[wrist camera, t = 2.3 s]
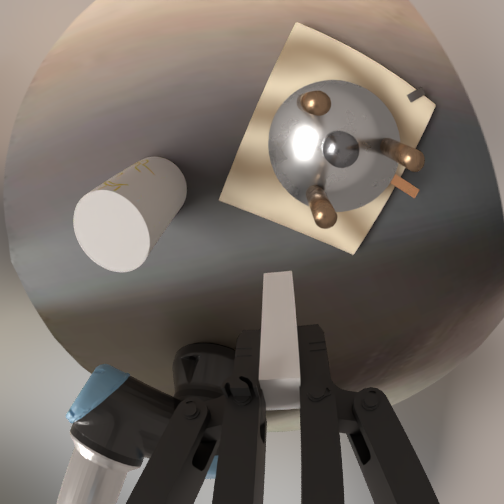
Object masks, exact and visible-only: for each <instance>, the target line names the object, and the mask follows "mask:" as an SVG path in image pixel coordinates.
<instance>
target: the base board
mask: <svg viewBox="0 0 504 504" xmlns="http://www.w3.org/2000/svg"><path fill="white" fill-rule="evenodd" d="M324 80H342V81H347V82H351V83H354V84H357V85H360V86H362V87H364V88H366V89H367V90H369V91H370V92H372V93H373V94H375V95H376V96H377V97H378V98H379V99H380V100H381V101H382V102H383V103H384V104H385V105H386V106H387V108H388V109H389V111H390V112H391V114H392V116H393V118H394V120H395V122H396V125H397V128H398V131H399V136H400V142H401V143H403V144H406V145H408V146H410V147H413V148H416V146H417V144H418V142H419V140H420V138H421V136H422V134H423V132H424V130H425V128H426V126H427V124H428V122H429V119H430V117H431V115H432V113H433V111H434V108H435V106H436V105H435V104H434V103H433V102H431V101H430V100H429V99H428V98H427V97H425V96H424V95H425V92H424V90H423V88H422V87H420V88H418V89H417V90H416V89H415V88H414V87H412V86H411V85H410V84H408V83H407V82H405V81H404V80H403V79H401V78H400V77H398V76H397V75H395V74H394V73H392V72H391V71H389V70H388V69H386V68H385V67H383V66H382V65H380V64H378V63H377V62H375V61H374V60H372V59H370V58H368V57H367V56H365V55H363V54H362V53H360V52H358V51H356V50H354V49H353V48H351V47H349V46H347V45H345V44H343V43H341V42H339V41H337V40H335V39H333V38H331V37H329V36H327V35H325V34H323V33H321V32H318V31H316V30H314V29H311V28H309V27H307V26H304V25H302V24H299V23H297V22H296V24H295V25H294V27H293V29H292V31H291V33H290V35H289V38H288V40H287V42H286V44H285V46H284V48H283V50H282V52H281V54H280V56H279V58H278V60H277V62H276V65H275V67H274V69H273V71H272V73H271V75H270V78H269V80H268V82H267V84H266V86H265V89H264V91H263V93H262V95H261V98H260V100H259V102H258V104H257V107H256V109H255V111H254V114H253V116H252V118H251V121H250V123H249V125H248V128H247V130H246V133H245V135H244V137H243V140H242V142H241V145H240V147H239V150H238V152H237V154H236V157H235V159H234V162H233V164H232V167H231V170H230V172H229V175H228V177H227V180H226V182H225V185H224V188H223V190H222V193H221V195H220V198H219V201H222V202H225V203H227V204H230V205H232V206H235V207H238V208H240V209H243V210H246V211H248V212H251V213H253V214H256V215H258V216H261V217H264V218H266V219H269V220H271V221H274V222H276V223H279V224H281V225H284V226H286V227H289V228H291V229H293V230H296V231H298V232H301V233H303V234H306V235H308V236H311V237H313V238H315V239H318V240H320V241H322V242H325V243H327V244H330V245H332V246H334V247H337V248H339V249H341V250H344V251H346V252H348V253H351V254H353V255H354V253H355V252H356V250H357V249H358V247H359V246H360V244H361V242H362V241H363V239H364V238H365V236H366V235H367V233H368V231H369V230H370V228H371V227H372V225H373V223H374V222H375V220H376V218H377V217H378V215H379V213H380V212H381V210H382V208H383V207H384V205H385V203H386V202H387V200H388V198H389V196H390V195H391V193H392V191H393V189H394V188H395V186H394V185H393V184H391V183H390V184H389V185H388V187H387V188H386V189H385V190H384V191H383V192H382V193H381V194H380V195H379V196H378V197H377V198H376V199H374V200H373V201H371V202H370V203H368V204H366V205H364V206H362V207H360V208H357V209H354V210H350V211H344V212H336V213H337V222H336V223H335V225H334V226H332V227H331V228H328V229H322V228H320V227H318V226H317V225H316V223H315V221H314V218H313V215H312V212H311V209H310V207H309V206H307V205H305V204H303V203H301V202H300V201H298V200H297V199H295V198H294V197H293V196H292V195H291V194H290V193H288V192H287V190H286V189H285V188H284V187H283V186H282V184H281V183H280V181H279V180H278V179H277V177H276V175H275V173H274V171H273V168H272V165H271V162H270V157H269V148H268V138H269V130H270V126H271V123H272V120H273V117H274V115H275V113H276V111H277V110H278V108H279V107H280V105H281V104H282V103H283V102H284V101H285V100H286V99H287V98H288V97H289V96H290V95H291V94H292V93H294V92H295V91H297V90H298V89H300V88H302V87H304V86H307V85H309V84H312V83H315V82H319V81H324ZM404 169H405V167H404V166H402V165H401V164H398V167H397V170H396V173H395V174H396V175H398V176H399V177H401V175H402V173H403V171H404Z"/></svg>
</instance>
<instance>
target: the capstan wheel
mask: <svg viewBox="0 0 504 504" xmlns="http://www.w3.org/2000/svg"><path fill="white" fill-rule="evenodd" d="M268 148H269V157H270V162H271V165H272V168H273V171H274V173H275V175H276V177H277V179H278V180H279V181H280V183H281V184H282V186H283V187H284V188H285V189H286V190H287V192H288V193H290V194H291V195H292V196H293V197H294V198H295V199H297V200H298V201H300V202H301V203H303V204H305V205H307V206H309V207H310V209H311V212H312V215H313V218H314V221H315V223H316V225H317V226H318V227H320V228H322V229H328V228H331V227H332V226H334V225H335V223H336V222H337V213H336V212H344V211H350V210H354V209H357V208H360V207H362V206H364V205H366V204H368V203H370V202H371V201H373V200H374V199H376V198H377V197H378V196H379V195H380V194H381V193H382V192H383V191H384V190H385V189H386V188H387V187H388V185H389V184H390V183H391V184H393V185H394V186H396V187H397V188H399V189H401V190H402V191H404V192H405V193H407V194H408V195H410V196H411V197H413V198H414V199H415V197H416V195H417V193H418V192H419V189H417V188H416V187H414V186H413V185H412V184H410V183H409V182H407V181H406V180H404V179H403V178H401V177H399V176H398V175H396V174H395V173H396V170H397V167H398V164H401V165H402V166H404V167H405V168H407V169H409V170H410V171H412V172H417V171H420V170H421V169H422V168H423V166H424V162H425V158H424V155H423V153H422V152H421V151H419V150H417V149H415V148H413V147H410V146H408V145H406V144H403V143H401V142H400V136H399V131H398V128H397V125H396V122H395V120H394V118H393V116H392V114H391V112H390V111H389V109H388V108H387V106H386V105H385V104H384V103H383V102H382V101H381V100H380V99H379V98H378V97H377V96H376V95H375V94H373V93H372V92H370V91H369V90H367V89H366V88H364V87H362V86H360V85H357V84H354V83H351V82H347V81H342V80H324V81H319V82H315V83H312V84H309V85H307V86H304V87H302V88H300V89H298V90H297V91H295V92H294V93H292V94H291V95H290V96H289V97H288V98H287V99H286V100H285V101H284V102H283V103H282V104H281V105H280V107H279V108H278V110H277V111H276V113H275V115H274V117H273V120H272V123H271V126H270V130H269V138H268Z"/></svg>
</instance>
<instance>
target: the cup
mask: <svg viewBox="0 0 504 504" xmlns="http://www.w3.org/2000/svg"><path fill="white" fill-rule="evenodd" d="M186 194H187V186H186V181H185V178H184V176H183V174H182V172H181V171H180V169H179V168H178V167H177V166H176V165H175V164H174V163H173V162H171V161H169V160H167V159H165V158H162V157H147V158H144V159H142V160H140V161H139V162H137V163H135V164H133V165H132V166H130V167H128V168H127V169H125V170H123V171H122V172H120V173H118V174H117V175H115V176H114V177H112V178H110V179H109V180H107V181H106V182H104V183H103V184H101V185H100V186H98V187H97V188H95V189H94V190H92V191H91V192H89V193H88V194H86V195H85V196H84V197H82V199H81V200H80V201H79V202H78V204H77V206H76V209H75V212H74V230H75V234H76V237H77V240H78V242H79V244H80V246H81V247H82V249H83V250H84V252H85V253H86V254H87V255H88V256H89V257H90V258H91V259H92V260H93V261H94V262H95V263H97V264H98V265H100V266H101V267H103V268H105V269H108V270H111V271H115V272H128V271H132V270H134V269H136V268H138V267H139V266H140V265H141V264H142V263H143V262H144V261H145V259H146V258H147V256H148V255H149V253H150V252H151V250H152V249H153V247H154V246H155V244H156V243H157V241H158V240H159V238H160V237H161V235H162V234H163V232H164V231H165V230H166V228H167V227H168V225H169V224H170V222H171V221H172V220H173V218H174V217H175V215H176V214H177V213H178V211H179V210H180V208H181V207H182V206H183V204H184V202H185V199H186Z"/></svg>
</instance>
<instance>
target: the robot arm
mask: <svg viewBox="0 0 504 504" xmlns="http://www.w3.org/2000/svg"><path fill="white" fill-rule="evenodd" d="M173 378H174V388H175V394H174V397H172V396H170V395H168V394H166V393H164V392H161V391H159V390H157V389H155V388H153V387H151V386H149V385H147V384H145V383H143V382H141V381H139V380H137V379H136V378H134V377H132V376H130V374H129V373H124V372H122V371H120V370H118V369H116V368H114V367H113V366H111V365H108V364H101V365H99V366H98V367H96V369H95V370H94V372H93V373H92V375H91V376H90V378H89V379H88V381H87V382H86V384H85V386H84V387H83V388H82V390H81V392H80V393H79V395H78V396H77V398H76V400H75V401H74V403H73V404H72V406H71V408H70V409H69V411H68V413H67V414H66V418H67V419H68V420H69V422H70V423H73V425H72V428H71V430H70V435H71V437H72V439H73V442H74V444H75V448H74V451H73V453H72V457H71V459H70V462H69V465H68V468H67V471H66V474H65V477H64V480H63V483H62V487H61V490H60V493H59V497H58V500H57V504H116V502H117V500H118V497H119V494H120V491H121V488H122V486H123V483H124V480H125V477H126V475H127V472H129V471H131V470H134V469H137V468H140V466H141V464H142V462H143V459H144V457H147V458H150V459H149V461H148V463H147V465H146V467H145V469H144V470H143V472H142V474H141V476H140V478H139V480H138V482H137V484H136V486H135V487H134V489H133V491H132V493H131V495H130V497H129V499H128V500H127V502H126V504H194V501H195V499H196V497H197V495H198V493H199V491H200V488H201V486H202V484H203V482H204V479H215V485H214V492H213V500H212V504H263V494H264V474H265V452H266V428H267V421H266V410H283V409H298V408H300V426H301V504H344V486H343V472H342V471H343V470H342V458H341V446H340V435H339V432H340V433H346V434H347V437H348V439H349V441H350V444H351V446H352V449H353V451H354V453H355V456H356V458H357V461H358V463H359V466H360V468H361V470H362V473H363V475H364V478H365V481H366V483H367V486H368V488H369V491H370V493H371V496H372V498H373V501H374V503H375V504H439V502H438V499H437V497H436V495H435V493H434V491H433V488H432V486H431V484H430V482H429V480H428V478H427V475H426V473H425V471H424V469H423V467H422V465H421V463H420V461H419V459H418V457H417V455H416V453H415V451H414V449H413V447H412V445H411V443H410V441H409V439H408V437H407V435H406V433H405V431H404V429H403V427H402V425H401V423H400V421H399V419H398V417H397V416H396V414H395V412H394V410H393V408H392V406H391V404H390V402H389V401H388V399H387V397H386V395H385V394H384V393H383V392H382V391H381V390H379V389H377V388H371V387H370V388H365V389H363V390H361V391H359V392H352V391H346V390H342V389H340V388H338V387H337V386H336V385H335V384H334V383H333V382H332V380H331V376H330V370H329V363H328V356H327V351H326V343H325V337H324V332H323V331H322V329H321V328H320V326H319V325H318V324H316V325H306V326H297V323H296V311H295V299H294V288H293V278H292V271H285V272H273V273H264V280H263V303H262V324H261V330H243V331H242V332H241V334H240V335H239V337H238V338H237V344H236V351H234V350H232V349H230V348H227V347H224V346H220V345H216V344H208V343H198V344H191V345H187V346H185V347H183V348H181V349H180V350H179V351H178V352H177V353H176V355H175V359H174V362H173Z"/></svg>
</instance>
